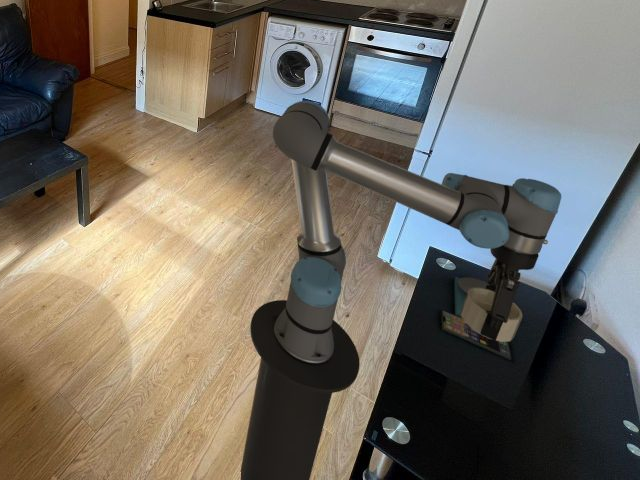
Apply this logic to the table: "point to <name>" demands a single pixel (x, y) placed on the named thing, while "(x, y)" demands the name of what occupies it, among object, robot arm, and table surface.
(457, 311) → the scale
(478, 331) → the bowl
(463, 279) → the scale pan
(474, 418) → the table surface
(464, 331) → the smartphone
